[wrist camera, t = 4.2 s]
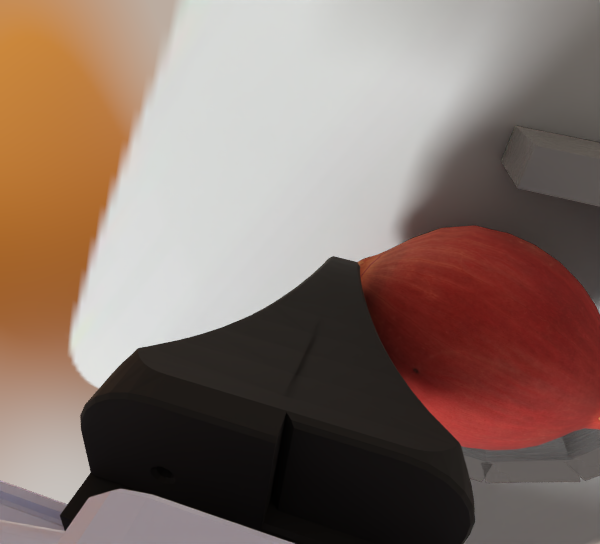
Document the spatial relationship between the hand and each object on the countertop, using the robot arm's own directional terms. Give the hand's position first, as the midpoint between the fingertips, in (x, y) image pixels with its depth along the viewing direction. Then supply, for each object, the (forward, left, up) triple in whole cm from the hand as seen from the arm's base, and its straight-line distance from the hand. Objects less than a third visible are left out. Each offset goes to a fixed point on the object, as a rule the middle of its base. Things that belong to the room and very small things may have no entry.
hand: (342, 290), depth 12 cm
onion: (0, 0, -2) cm, 2 cm away
